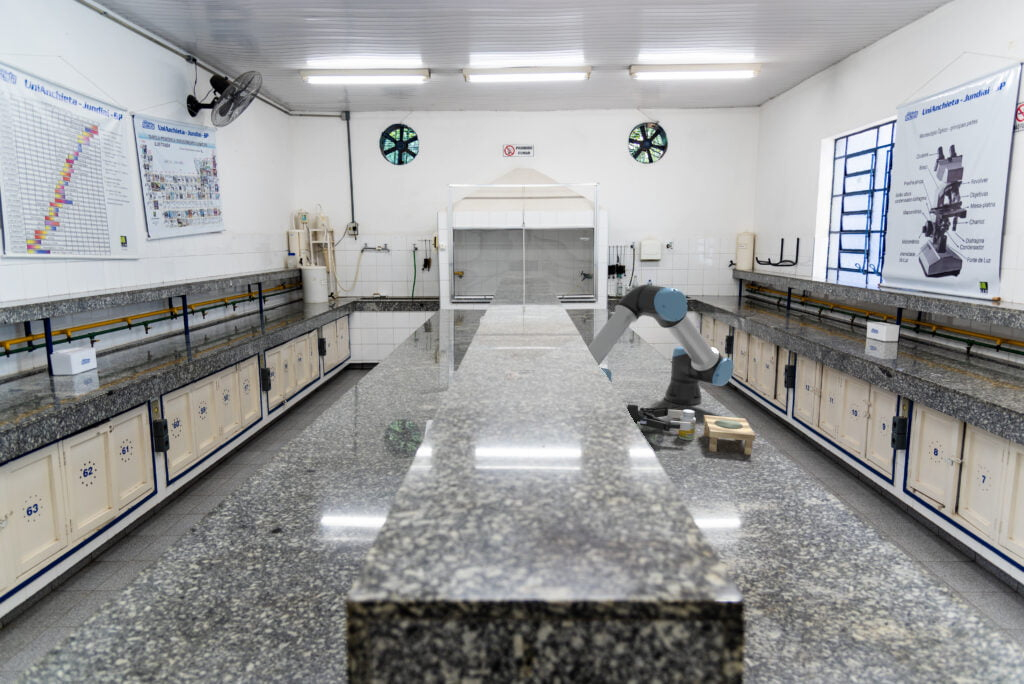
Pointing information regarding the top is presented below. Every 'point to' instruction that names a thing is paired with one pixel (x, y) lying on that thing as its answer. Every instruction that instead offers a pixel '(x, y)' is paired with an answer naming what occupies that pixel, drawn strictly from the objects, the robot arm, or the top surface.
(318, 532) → the top surface
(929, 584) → the top surface
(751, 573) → the top surface
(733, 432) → the footstool
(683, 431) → the supplement bottle
